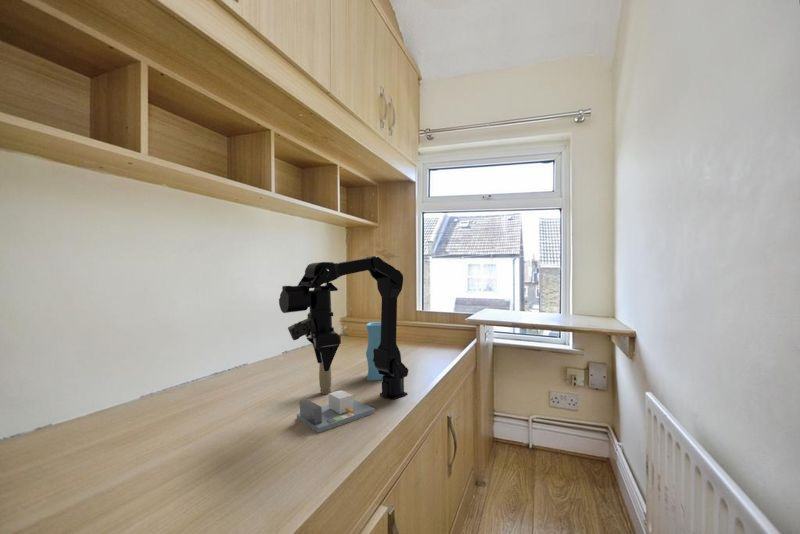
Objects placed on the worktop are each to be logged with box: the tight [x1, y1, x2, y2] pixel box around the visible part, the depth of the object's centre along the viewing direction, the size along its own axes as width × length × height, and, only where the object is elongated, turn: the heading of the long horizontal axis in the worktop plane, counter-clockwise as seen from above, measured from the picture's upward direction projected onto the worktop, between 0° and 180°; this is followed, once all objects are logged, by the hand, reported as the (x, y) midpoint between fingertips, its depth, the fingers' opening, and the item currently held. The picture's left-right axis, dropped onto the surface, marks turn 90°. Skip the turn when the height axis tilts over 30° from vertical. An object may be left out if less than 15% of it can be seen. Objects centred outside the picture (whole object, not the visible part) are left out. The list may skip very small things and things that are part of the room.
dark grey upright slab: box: [299, 398, 322, 425], centre depth 88 cm, size 2×8×4 cm, turn 42°
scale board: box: [296, 398, 375, 434], centre depth 93 cm, size 17×12×2 cm
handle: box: [318, 363, 332, 395], centre depth 113 cm, size 5×6×15 cm
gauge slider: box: [327, 390, 354, 414], centre depth 93 cm, size 4×9×4 cm, turn 42°
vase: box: [365, 321, 384, 381], centre depth 129 cm, size 8×8×20 cm
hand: (322, 366), depth 92 cm, fingers open, 9 cm apart
